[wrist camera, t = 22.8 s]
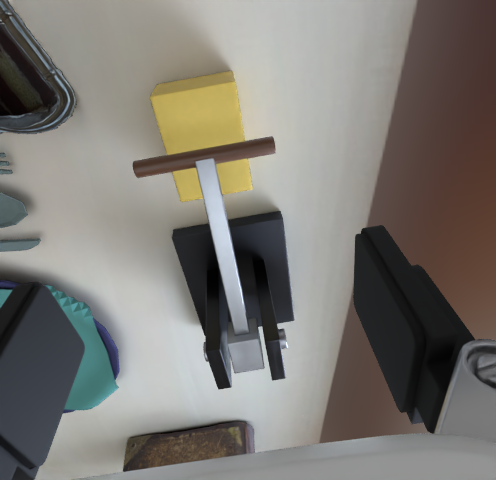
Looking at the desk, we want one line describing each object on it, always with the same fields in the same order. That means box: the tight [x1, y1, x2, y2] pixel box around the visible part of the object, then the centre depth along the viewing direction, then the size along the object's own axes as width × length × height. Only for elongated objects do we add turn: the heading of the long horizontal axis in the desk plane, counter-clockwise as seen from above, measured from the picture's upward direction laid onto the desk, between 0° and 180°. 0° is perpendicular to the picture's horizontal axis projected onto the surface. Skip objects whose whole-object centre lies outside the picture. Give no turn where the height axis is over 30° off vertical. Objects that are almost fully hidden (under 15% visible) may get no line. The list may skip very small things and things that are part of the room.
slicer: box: [172, 211, 294, 389], centre depth 29 cm, size 12×9×10 cm
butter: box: [150, 71, 253, 202], centre depth 24 cm, size 5×7×3 cm
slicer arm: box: [133, 136, 275, 373], centre depth 24 cm, size 16×8×2 cm, turn 9°
